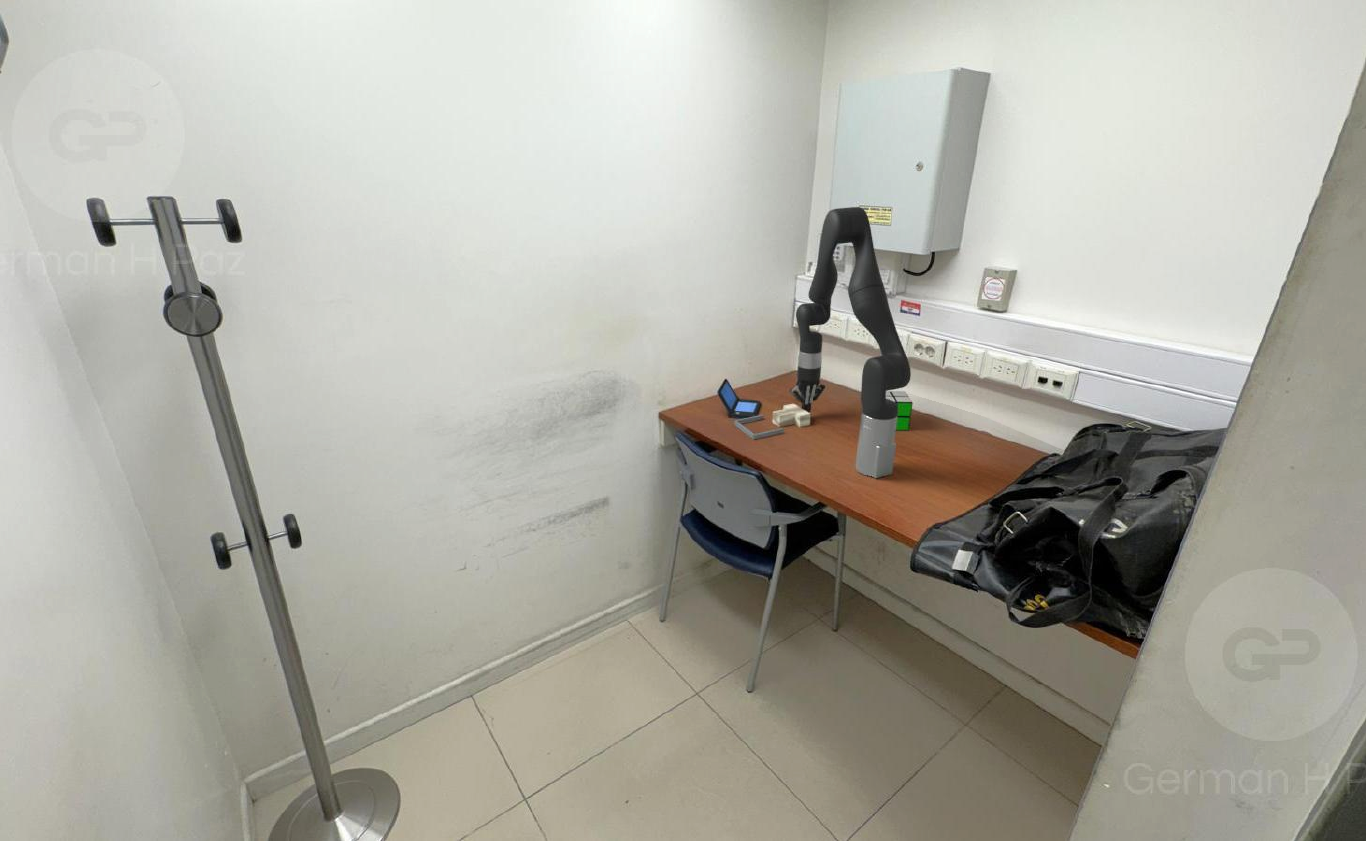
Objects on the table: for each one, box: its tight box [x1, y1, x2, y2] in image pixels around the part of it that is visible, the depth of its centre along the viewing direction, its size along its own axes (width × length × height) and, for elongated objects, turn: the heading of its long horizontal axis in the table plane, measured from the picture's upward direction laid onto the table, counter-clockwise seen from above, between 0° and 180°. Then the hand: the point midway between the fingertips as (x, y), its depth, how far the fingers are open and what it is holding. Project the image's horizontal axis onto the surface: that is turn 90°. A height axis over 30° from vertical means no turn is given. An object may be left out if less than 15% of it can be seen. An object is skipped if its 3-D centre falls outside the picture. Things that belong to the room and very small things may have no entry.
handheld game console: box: [717, 378, 762, 419], centre depth 204 cm, size 16×13×9 cm
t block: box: [772, 403, 812, 428], centre depth 194 cm, size 10×10×4 cm
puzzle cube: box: [886, 390, 913, 432], centre depth 190 cm, size 10×10×10 cm
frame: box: [733, 414, 784, 441], centre depth 190 cm, size 13×11×2 cm
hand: (806, 412), depth 197 cm, fingers closed
